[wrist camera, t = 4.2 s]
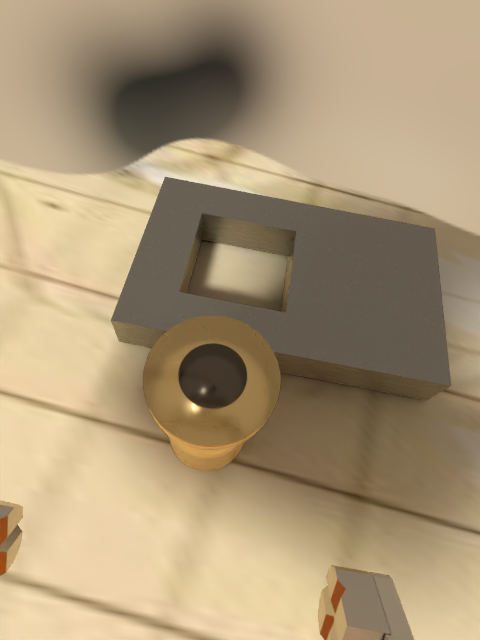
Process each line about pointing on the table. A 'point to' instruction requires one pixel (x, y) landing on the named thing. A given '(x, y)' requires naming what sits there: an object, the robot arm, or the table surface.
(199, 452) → the bushing
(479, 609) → the table surface
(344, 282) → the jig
